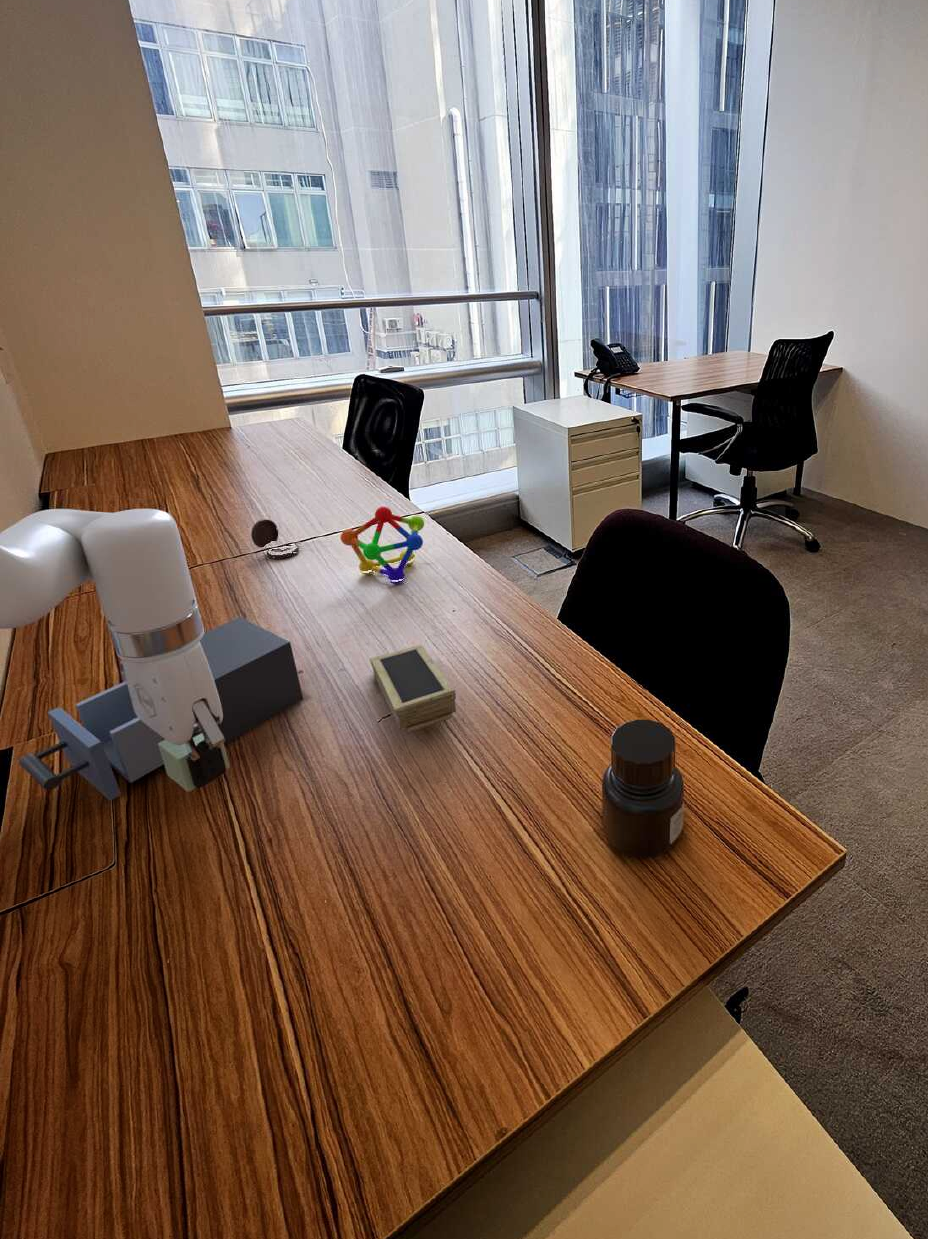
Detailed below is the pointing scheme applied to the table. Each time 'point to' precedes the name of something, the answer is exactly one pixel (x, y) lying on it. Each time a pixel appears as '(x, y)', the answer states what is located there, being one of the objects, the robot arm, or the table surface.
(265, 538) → the compass
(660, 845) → the ink bottle
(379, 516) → the educational toy
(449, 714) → the box
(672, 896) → the table surface
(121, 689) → the drawer
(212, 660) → the cabinet
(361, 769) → the table surface
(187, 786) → the block
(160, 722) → the robot arm
